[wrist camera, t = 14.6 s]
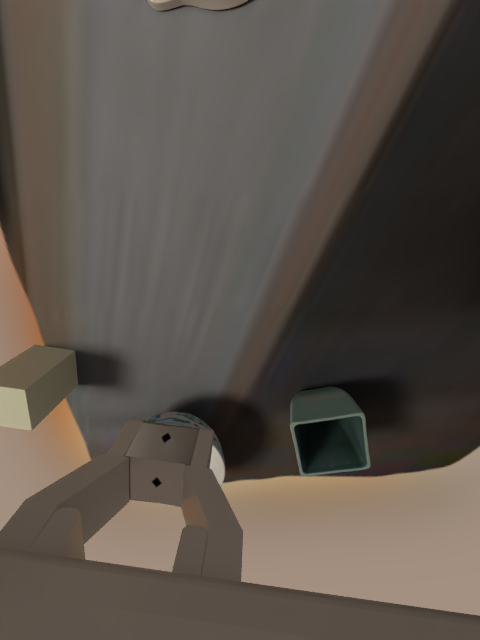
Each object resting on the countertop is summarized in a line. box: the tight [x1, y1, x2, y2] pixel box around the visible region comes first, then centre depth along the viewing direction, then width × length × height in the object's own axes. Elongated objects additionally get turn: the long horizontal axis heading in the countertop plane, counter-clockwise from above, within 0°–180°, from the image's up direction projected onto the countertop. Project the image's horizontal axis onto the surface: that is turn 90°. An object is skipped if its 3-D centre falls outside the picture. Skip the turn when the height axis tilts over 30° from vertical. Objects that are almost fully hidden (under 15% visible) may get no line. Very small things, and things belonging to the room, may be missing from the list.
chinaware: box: [146, 412, 225, 507], centre depth 44 cm, size 15×15×8 cm
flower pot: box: [290, 387, 370, 476], centre depth 40 cm, size 9×9×9 cm
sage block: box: [0, 345, 78, 431], centre depth 39 cm, size 6×6×10 cm
